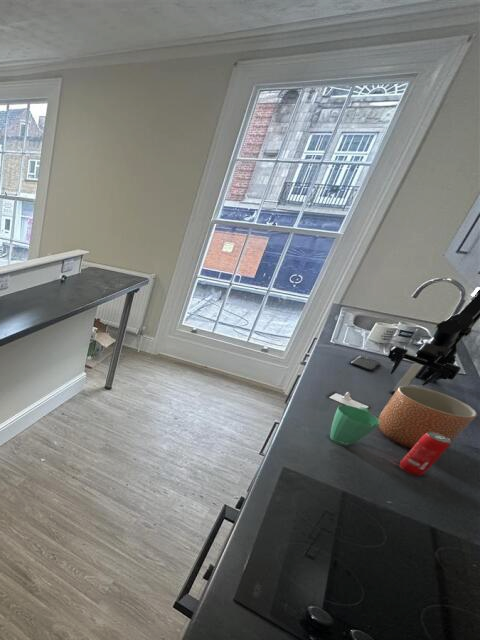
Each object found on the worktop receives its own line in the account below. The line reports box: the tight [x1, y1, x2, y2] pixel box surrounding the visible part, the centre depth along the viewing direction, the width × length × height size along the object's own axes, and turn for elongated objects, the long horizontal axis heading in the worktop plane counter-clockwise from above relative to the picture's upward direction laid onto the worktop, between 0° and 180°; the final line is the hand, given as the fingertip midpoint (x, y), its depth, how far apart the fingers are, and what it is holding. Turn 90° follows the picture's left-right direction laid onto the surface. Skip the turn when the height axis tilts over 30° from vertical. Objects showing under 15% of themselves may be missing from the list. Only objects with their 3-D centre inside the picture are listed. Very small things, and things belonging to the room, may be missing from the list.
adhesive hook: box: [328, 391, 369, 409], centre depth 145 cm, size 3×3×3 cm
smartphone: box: [350, 355, 381, 372], centre depth 176 cm, size 7×1×15 cm
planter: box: [377, 385, 478, 450], centre depth 123 cm, size 17×17×15 cm
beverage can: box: [399, 432, 452, 476], centre depth 111 cm, size 5×5×12 cm
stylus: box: [390, 362, 424, 395], centre depth 150 cm, size 2×2×13 cm
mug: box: [329, 404, 380, 447], centre depth 122 cm, size 15×10×10 cm
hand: (406, 379), depth 150 cm, fingers open, 9 cm apart
